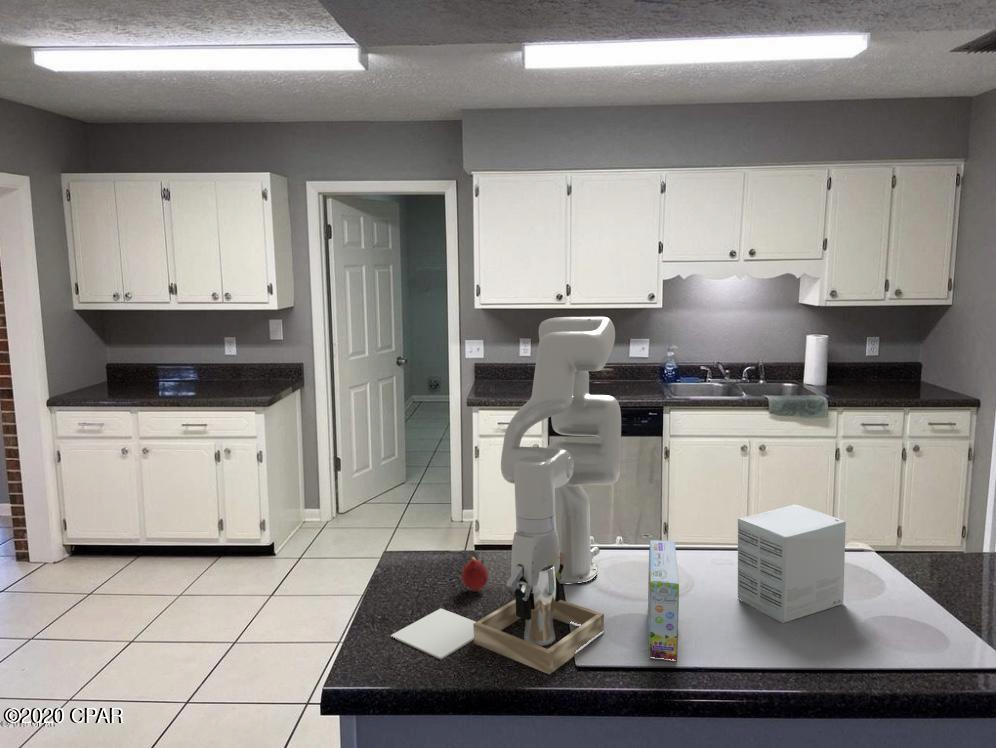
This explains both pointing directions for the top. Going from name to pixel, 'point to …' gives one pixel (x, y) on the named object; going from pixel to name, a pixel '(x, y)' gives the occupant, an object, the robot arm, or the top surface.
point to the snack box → (663, 600)
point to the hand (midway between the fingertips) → (538, 608)
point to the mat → (438, 633)
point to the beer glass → (541, 609)
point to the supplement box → (791, 562)
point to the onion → (474, 575)
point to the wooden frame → (532, 654)
